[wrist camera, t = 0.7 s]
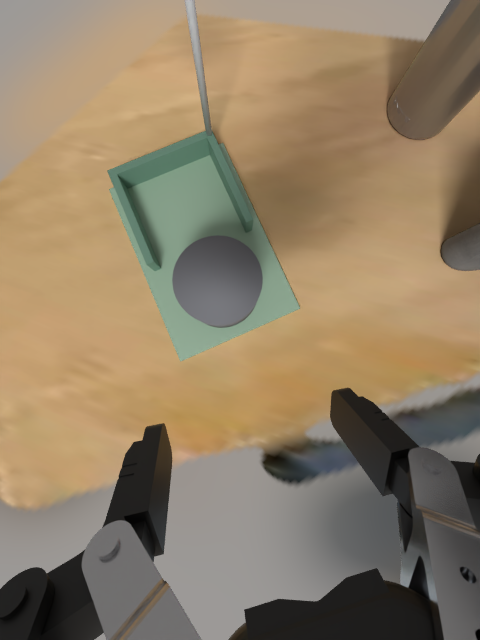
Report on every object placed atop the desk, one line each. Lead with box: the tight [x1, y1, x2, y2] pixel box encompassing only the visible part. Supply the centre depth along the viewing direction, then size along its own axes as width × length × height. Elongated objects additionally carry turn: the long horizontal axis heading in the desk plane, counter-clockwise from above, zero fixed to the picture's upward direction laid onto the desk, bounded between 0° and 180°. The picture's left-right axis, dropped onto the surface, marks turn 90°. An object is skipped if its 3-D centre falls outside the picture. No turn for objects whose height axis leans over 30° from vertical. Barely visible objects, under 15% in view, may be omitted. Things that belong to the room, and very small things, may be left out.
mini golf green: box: [108, 0, 300, 361], centre depth 23 cm, size 18×27×22 cm, turn 24°
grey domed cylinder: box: [172, 235, 263, 328], centre depth 30 cm, size 10×10×7 cm
